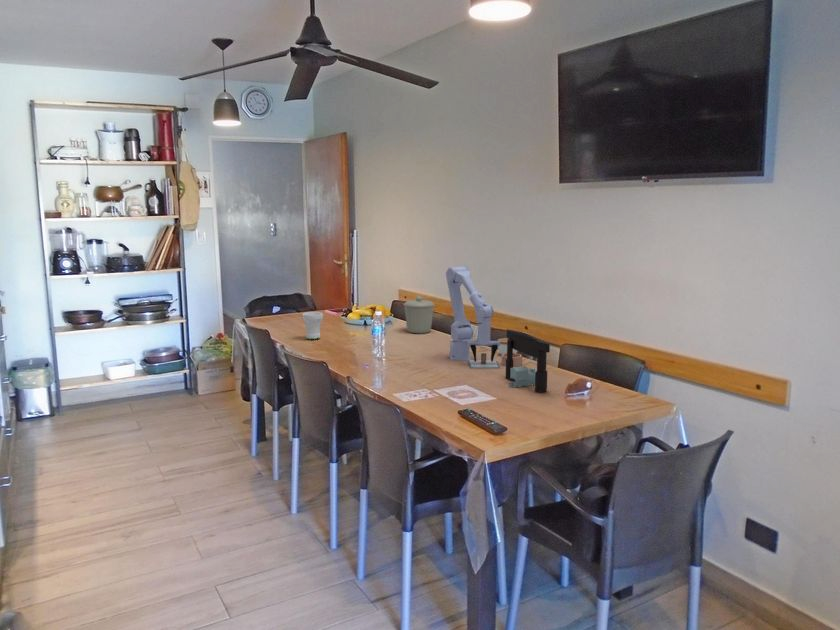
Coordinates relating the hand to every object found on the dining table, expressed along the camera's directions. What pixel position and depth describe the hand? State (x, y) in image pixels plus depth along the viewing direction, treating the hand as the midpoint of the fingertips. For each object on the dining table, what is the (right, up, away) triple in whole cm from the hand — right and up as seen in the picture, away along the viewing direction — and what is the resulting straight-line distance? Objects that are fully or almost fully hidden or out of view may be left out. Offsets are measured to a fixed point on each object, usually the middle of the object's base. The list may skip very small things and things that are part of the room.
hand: (483, 361), depth 302 cm
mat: (0, -2, 0) cm, 2 cm away
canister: (-30, +11, +79) cm, 85 cm away
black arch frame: (+14, -8, -31) cm, 35 cm away
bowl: (+13, -2, +1) cm, 13 cm away
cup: (-87, +8, +59) cm, 106 cm away
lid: (0, -2, 0) cm, 2 cm away
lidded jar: (+14, +1, +20) cm, 25 cm away
